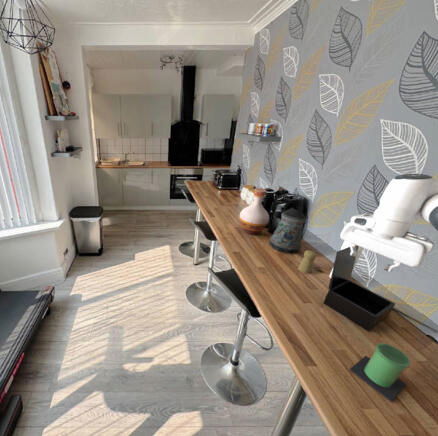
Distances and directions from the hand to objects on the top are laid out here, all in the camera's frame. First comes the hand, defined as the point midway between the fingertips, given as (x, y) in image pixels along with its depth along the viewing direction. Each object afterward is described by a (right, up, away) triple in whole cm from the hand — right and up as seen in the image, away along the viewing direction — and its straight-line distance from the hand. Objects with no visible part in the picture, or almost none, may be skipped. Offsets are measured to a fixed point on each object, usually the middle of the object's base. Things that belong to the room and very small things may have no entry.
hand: (369, 262), depth 79 cm
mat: (-5, -33, -8) cm, 35 cm away
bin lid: (+6, -5, +17) cm, 19 cm away
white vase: (-4, +6, +81) cm, 82 cm away
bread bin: (+10, -23, +17) cm, 30 cm away
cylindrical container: (+18, -15, +36) cm, 43 cm away
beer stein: (+9, -2, +65) cm, 65 cm away
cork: (+7, -12, +42) cm, 44 cm away
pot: (-5, -33, -8) cm, 34 cm away
